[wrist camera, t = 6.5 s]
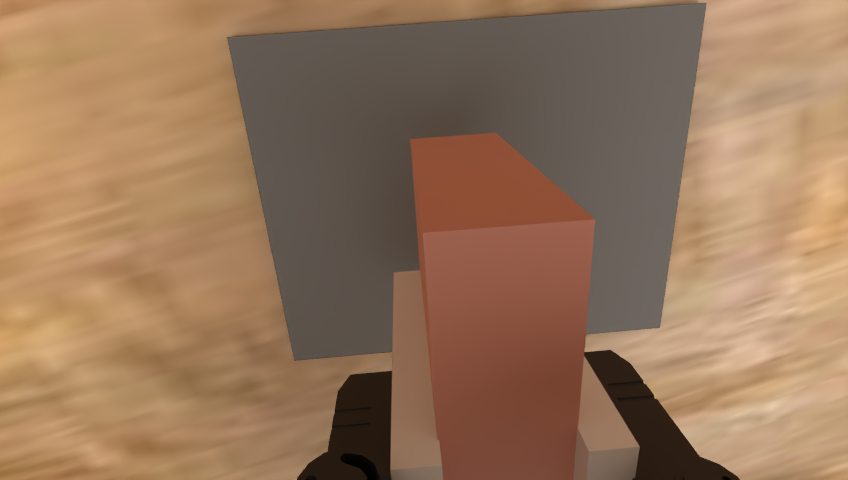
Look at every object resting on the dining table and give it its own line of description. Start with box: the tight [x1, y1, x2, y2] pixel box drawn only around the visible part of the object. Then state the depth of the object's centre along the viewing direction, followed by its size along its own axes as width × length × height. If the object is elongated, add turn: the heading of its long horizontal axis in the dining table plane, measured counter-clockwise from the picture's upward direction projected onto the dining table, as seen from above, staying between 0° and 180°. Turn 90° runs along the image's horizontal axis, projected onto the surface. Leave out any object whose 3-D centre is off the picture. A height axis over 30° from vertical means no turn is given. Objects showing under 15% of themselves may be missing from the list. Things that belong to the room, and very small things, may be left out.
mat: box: [227, 3, 706, 361], centre depth 23 cm, size 20×16×1 cm
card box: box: [410, 133, 595, 480], centre depth 11 cm, size 2×10×6 cm, turn 4°
